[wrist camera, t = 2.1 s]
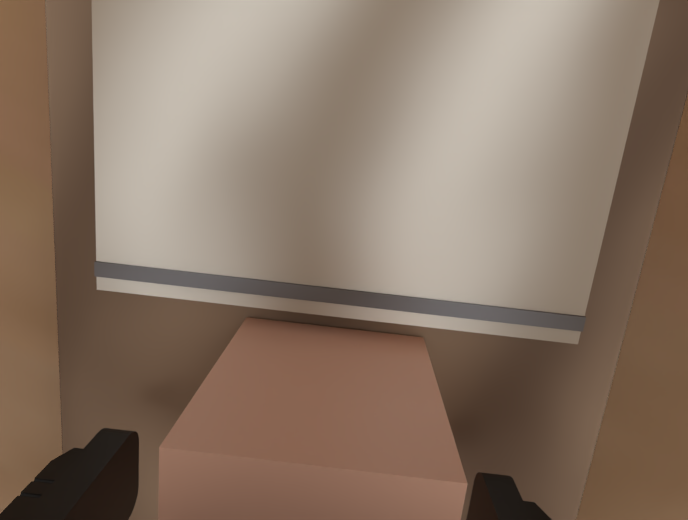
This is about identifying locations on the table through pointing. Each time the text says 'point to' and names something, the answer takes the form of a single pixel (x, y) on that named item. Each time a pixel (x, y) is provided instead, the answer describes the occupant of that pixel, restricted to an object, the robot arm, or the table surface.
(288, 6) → the board
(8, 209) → the table surface
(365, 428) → the stub
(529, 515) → the robot arm
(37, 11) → the table surface
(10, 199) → the table surface
